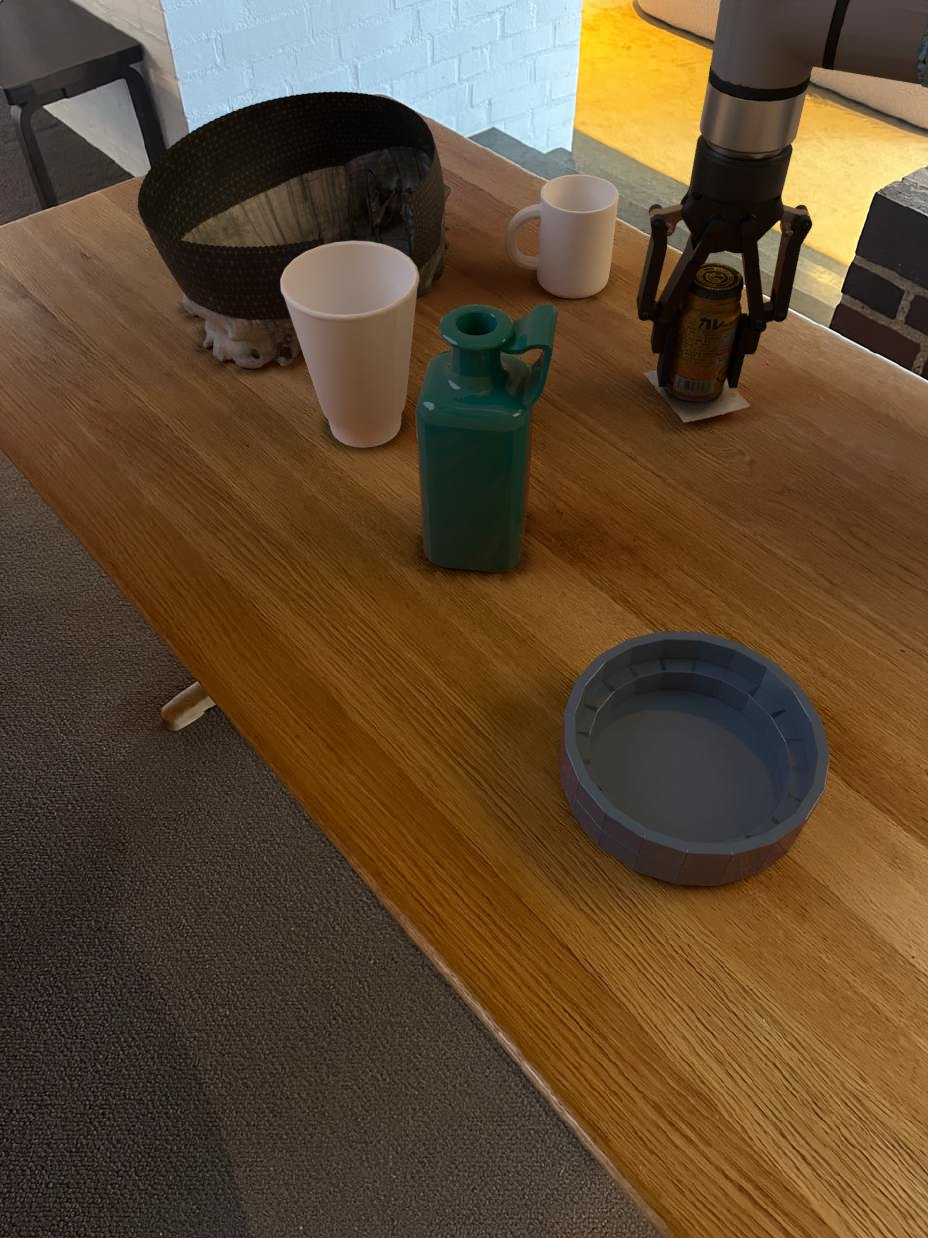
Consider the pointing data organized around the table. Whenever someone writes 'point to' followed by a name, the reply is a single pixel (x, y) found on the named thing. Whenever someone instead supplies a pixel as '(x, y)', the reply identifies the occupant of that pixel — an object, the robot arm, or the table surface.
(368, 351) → the cup
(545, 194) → the mug
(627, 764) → the bowl
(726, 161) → the robot arm
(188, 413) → the table surface
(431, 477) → the pitcher
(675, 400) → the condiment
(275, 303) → the basket
